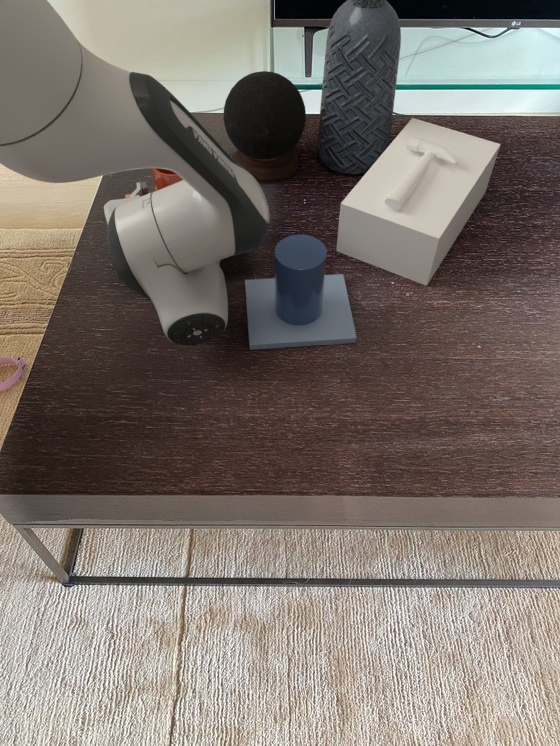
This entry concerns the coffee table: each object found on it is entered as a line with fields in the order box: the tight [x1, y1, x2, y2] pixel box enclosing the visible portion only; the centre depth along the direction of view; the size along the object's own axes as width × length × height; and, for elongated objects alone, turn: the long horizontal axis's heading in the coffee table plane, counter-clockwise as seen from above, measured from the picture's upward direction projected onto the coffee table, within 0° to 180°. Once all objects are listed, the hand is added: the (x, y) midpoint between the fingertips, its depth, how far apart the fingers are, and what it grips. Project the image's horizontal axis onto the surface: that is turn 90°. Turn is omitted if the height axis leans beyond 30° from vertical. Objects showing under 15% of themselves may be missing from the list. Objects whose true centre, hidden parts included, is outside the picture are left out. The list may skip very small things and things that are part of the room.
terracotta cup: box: [150, 168, 183, 191], centre depth 91 cm, size 6×6×10 cm
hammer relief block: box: [335, 117, 501, 287], centre depth 92 cm, size 14×25×11 cm, turn 150°
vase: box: [316, 0, 402, 175], centre depth 96 cm, size 12×12×28 cm
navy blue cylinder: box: [274, 234, 328, 325], centre depth 80 cm, size 6×6×10 cm
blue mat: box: [244, 273, 358, 351], centre depth 84 cm, size 14×12×1 cm
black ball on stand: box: [223, 70, 307, 184], centre depth 100 cm, size 13×13×15 cm
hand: (174, 182), depth 91 cm, fingers open, 8 cm apart
